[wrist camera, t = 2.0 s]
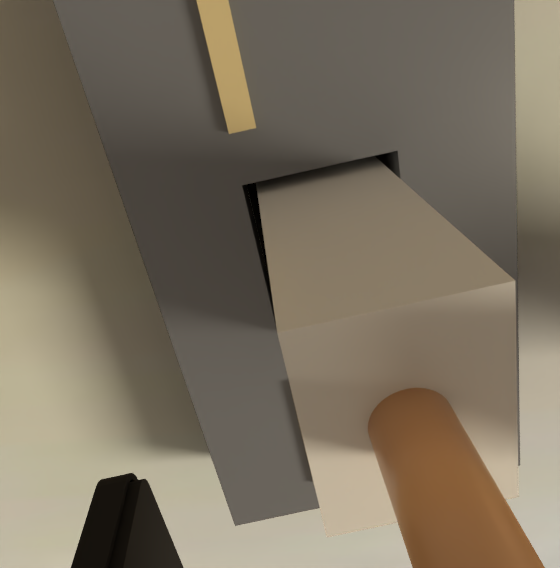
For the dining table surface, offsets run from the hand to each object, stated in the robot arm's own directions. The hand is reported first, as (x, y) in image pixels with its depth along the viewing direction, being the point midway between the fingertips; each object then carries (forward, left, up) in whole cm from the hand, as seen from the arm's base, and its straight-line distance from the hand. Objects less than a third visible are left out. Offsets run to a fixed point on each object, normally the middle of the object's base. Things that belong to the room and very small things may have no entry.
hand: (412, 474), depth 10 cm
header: (-1, 0, -13) cm, 13 cm away
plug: (-1, 0, -13) cm, 13 cm away
